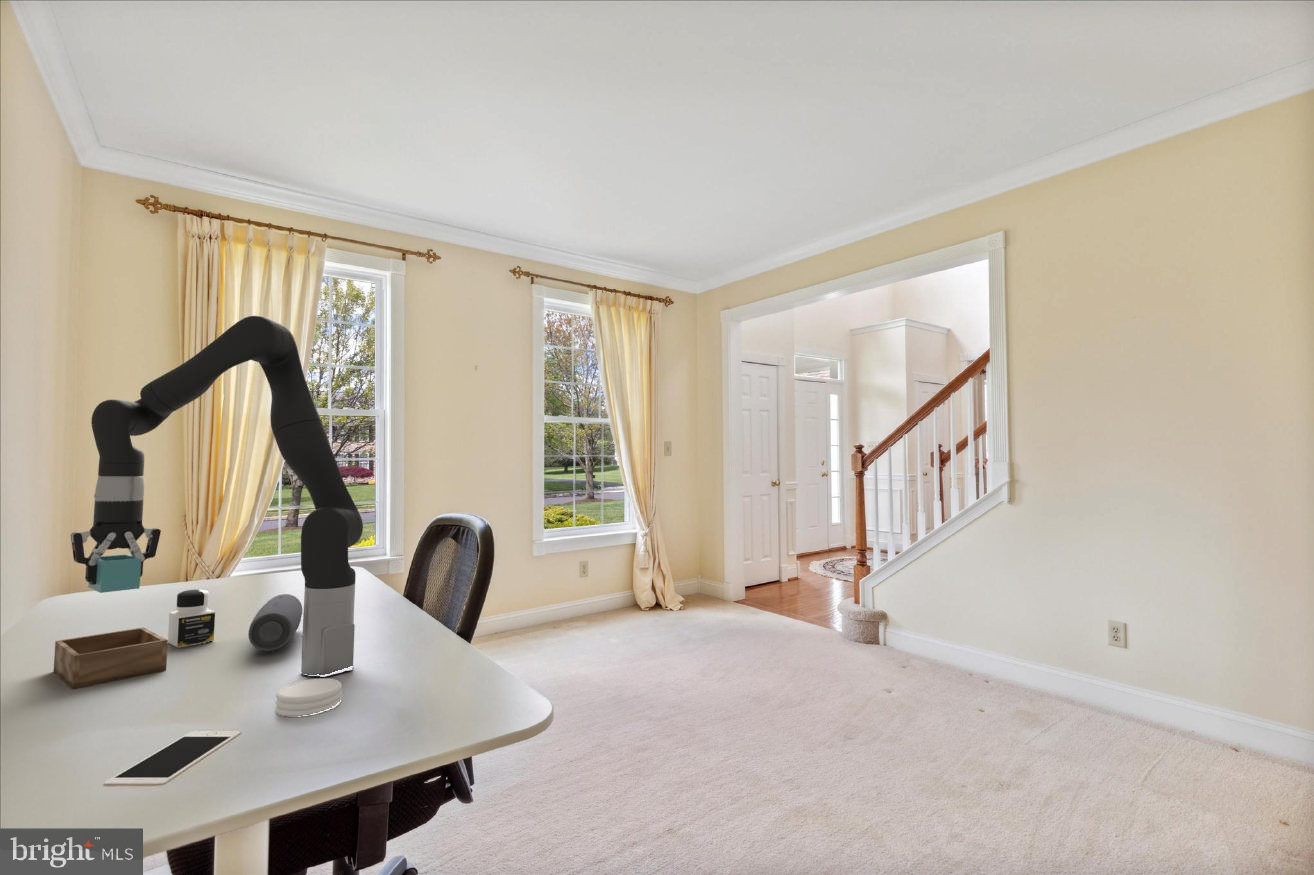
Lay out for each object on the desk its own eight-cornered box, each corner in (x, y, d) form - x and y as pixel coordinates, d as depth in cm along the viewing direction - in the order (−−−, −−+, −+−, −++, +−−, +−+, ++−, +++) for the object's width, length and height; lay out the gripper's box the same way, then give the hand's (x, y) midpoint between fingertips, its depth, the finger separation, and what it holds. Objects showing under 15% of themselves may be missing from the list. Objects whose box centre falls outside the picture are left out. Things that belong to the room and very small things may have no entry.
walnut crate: (166, 670, 125) (167, 639, 125) (72, 689, 114) (74, 656, 114) (142, 655, 135) (143, 627, 135) (53, 671, 123) (55, 640, 124)
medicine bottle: (177, 648, 140) (180, 594, 141) (167, 642, 144) (170, 590, 145) (214, 641, 146) (216, 590, 146) (203, 636, 150) (206, 586, 151)
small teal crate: (139, 588, 125) (141, 558, 125) (100, 592, 120) (102, 561, 120) (126, 583, 130) (128, 554, 130) (88, 587, 125) (90, 557, 125)
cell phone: (242, 735, 96) (242, 730, 96) (163, 788, 80) (163, 783, 80) (191, 735, 96) (191, 730, 96) (101, 788, 80) (101, 783, 80)
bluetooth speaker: (260, 633, 153) (262, 593, 154) (303, 630, 157) (305, 590, 158) (243, 659, 133) (245, 612, 133) (293, 654, 137) (295, 608, 137)
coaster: (266, 721, 101) (267, 699, 101) (285, 699, 111) (286, 679, 111) (334, 715, 104) (335, 694, 104) (347, 695, 113) (347, 675, 113)
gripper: (76, 500, 118) (70, 589, 117) (169, 498, 129) (164, 579, 129) (67, 498, 122) (61, 584, 121) (157, 497, 134) (152, 575, 133)
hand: (114, 581), depth 125 cm, fingers closed on small teal crate, 6 cm apart
